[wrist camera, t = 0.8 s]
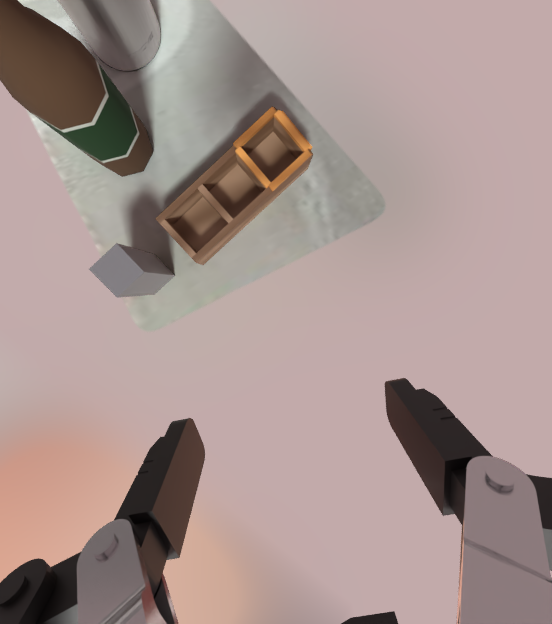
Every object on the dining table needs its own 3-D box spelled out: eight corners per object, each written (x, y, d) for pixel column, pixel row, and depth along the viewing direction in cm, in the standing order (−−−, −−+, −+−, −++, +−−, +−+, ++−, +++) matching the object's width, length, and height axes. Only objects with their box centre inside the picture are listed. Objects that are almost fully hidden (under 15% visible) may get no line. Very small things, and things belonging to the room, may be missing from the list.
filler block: (133, 273, 37) (88, 269, 27) (154, 254, 36) (116, 243, 27) (154, 294, 37) (117, 297, 28) (174, 275, 37) (144, 272, 27)
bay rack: (167, 226, 36) (153, 217, 32) (276, 123, 35) (278, 100, 31) (203, 265, 37) (194, 262, 32) (310, 165, 36) (317, 148, 32)
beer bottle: (128, 105, 34) (-178, -306, 10) (167, 155, 35) (-36, -121, 11) (83, 142, 35) (-319, -180, 11) (122, 190, 35) (-169, -8, 12)
